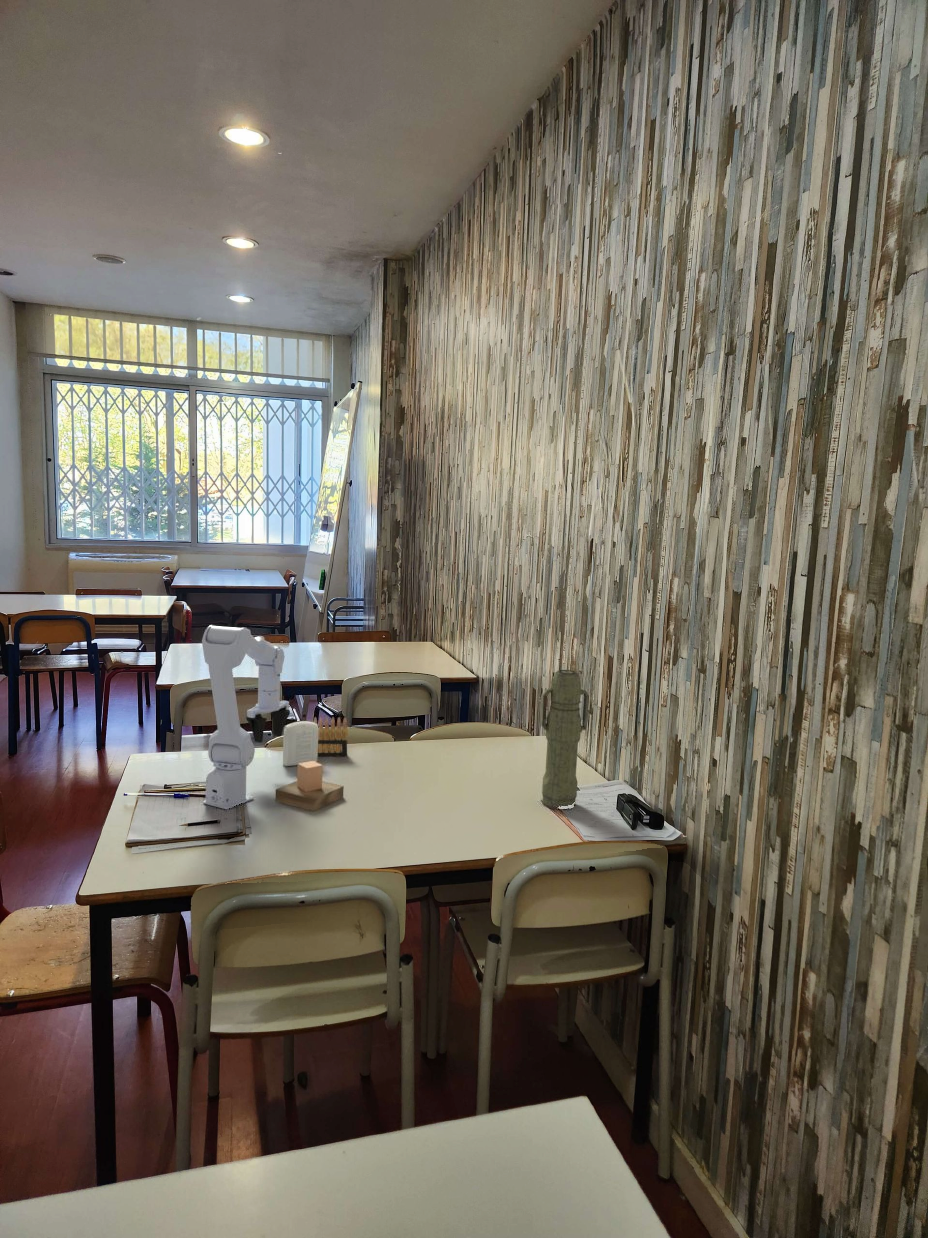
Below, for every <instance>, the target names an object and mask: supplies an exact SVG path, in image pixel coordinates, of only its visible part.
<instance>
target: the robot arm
mask: <svg viewBox="0 0 928 1238" xmlns="http://www.w3.org/2000/svg"><path fill="white" fill-rule="evenodd" d="M201 645H202V646H201V647H202V652H203V656H204V662H205V663H206V664H207V666H208V672H209V679H210V685H211V693H212V699H213V705H214V713H215V719H216V725H217V729H216V730H215V731H214V732H212V734H211V735H210V737H209V738H208V751H207V752H208V753H207V754H208V759H209V760H210V762H211V763H213V764H212V765H213V767H214V769H213V770H212V771H211V772H209V773H207V776H206V777H205V779H206V780H205V800H204V801H202V803H203V804H204V805H209V806H212V807H217V808H220V809H223V810H229V808H230V809H232V808H235V807H237V806H239V804H240V805H242V804H244V803H247V802H249V801H252V800H254V798H255V797H254V796H251V795H247V767H248V766H249V765H250V764H251V763H253V760H254V757H255V750H256V749H255V745H254V743H253V741H252V738H251V734H250V733H249V732H248V731H246V730H245V729H244V728H242V727H241V723H240V716H239V709H238V703H237V694H236V688H235V681H234V673H233V669H234V668H237V667H239V666H240V665H241V664H242V662H243V660H244V659H245V656H246V655H247V656H248V657H249V658H250V659H252V660H253V661H254V664H255V665H256V667H258V677H257V678H258V680H257V681H258V683H257V703H255V706H254V707H252V708H249V709H247V710H246V712H247V713H246V715H245V716H246V717H245V718H246V721H247V723H248V725H249V727H250V729H251V732H252V736H253V740H254V742H255V743H263V739H264V729H265V726H266V722H267V720H268V719H267V718H266V717H263V716H262V715H265V714H269V713H270V715H271V719H272V733H273V736H274V737H282V734H283V732H284V728H285V725H286V721H287V720H288V718H289V716H290V714H291V710H289V708H290V701H288V700H280V696H281V674H282V673H283V666H284V662H285V652H284V649H283V648H282V647H280V646H277V645H276V646H275V645H273V644H272V643H271V641H267V640H265V637H264V636H261V635H258V636H255V637H254V636H253V635H252V633H251V630H250V629H249V628H247V627H233V626H231V627H230V626H219V625H214V624H210V625H209V626H207V627H206V628H205V630H204V633H203V635H202V639H201ZM241 803H242V804H241ZM236 805H237V806H236ZM234 806H235V807H234Z"/></svg>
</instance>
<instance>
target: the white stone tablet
mask: <svg viewBox="0 0 928 1238" xmlns="http://www.w3.org/2000/svg"><path fill="white" fill-rule="evenodd" d="M318 732H319V724H318V723H317V724H316V723H314V722H313V721H308V720H307V721H306V720H302V721H294V722H291V723H289V724H287V725H286V724H285V725H284V727H283V742H282V743H283V745H282V765H283V766H285V767H289V766H291V767H292V766H298V763H304V762H309V761H315V762H317V763H318V758H319V757H318Z"/></svg>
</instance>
